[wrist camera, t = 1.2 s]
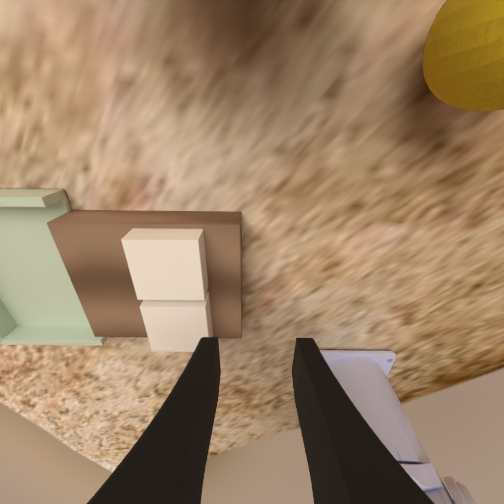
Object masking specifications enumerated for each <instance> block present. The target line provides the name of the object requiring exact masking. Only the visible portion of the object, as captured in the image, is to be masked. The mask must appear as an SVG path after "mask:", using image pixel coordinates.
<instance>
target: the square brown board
mask: <svg viewBox="0 0 504 504" xmlns="http://www.w3.org/2000/svg"><path fill="white" fill-rule="evenodd" d="M47 225H48V228H49V230H50V232H51V235H52V237H53V240H54V242H55V244H56V247H57V249H58V251H59V254H60V256H61V258H62V261H63V263H64V265H65V268H66V270H67V272H68V275H69V277H70V279H71V282H72V284H73V287H74V289H75V291H76V294H77V296H78V298H79V301H80V303H81V305H82V308H83V310H84V312H85V315H86V317H87V319H88V322H89V324H90V326H91V329H92V331H93V334H94V336H95V337H148V335H147V332H146V328H145V324H144V321H143V317H142V314H141V310H140V305H141V303H142V302H143V300H138V299H137V296H136V292H135V288H134V285H133V281H132V278H131V274H130V270H129V267H128V263H127V259H126V256H125V252H124V249H123V245H122V241H121V239H122V238H123V237H124V236H125V235H126V234H127V233H129V232H130V231H131V230H132V229H133V228H149V229H203V233H204V244H205V255H206V265H207V276H208V289H207V292H209V297H210V308H211V318H212V329H213V337H218V338H241V336H242V236H241V212H204V211H110V210H71V211H69V212H67V213H65V214H63V215H61V216H59V217H57V218H55V219H53V220H51V221H49V222H47Z"/></svg>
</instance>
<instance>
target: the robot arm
mask: <svg viewBox="0 0 504 504" xmlns="http://www.w3.org/2000/svg"><path fill="white" fill-rule="evenodd" d="M395 358H396V354H395V353H394V352H393V351H357V350H319V348H318V346H317V345H316V343H315V341H314V340H313V339H312V338H296V345H295V352H294V359H293V366H292V378H293V388H294V396H295V403H296V408H297V413H298V417H299V422H300V427H301V431H302V437H303V442H304V447H305V451H306V456H307V461H308V466H309V471H310V477H311V483H312V490H313V498H314V504H454V503H455V504H476V503H475V501H474V499H473V497H472V496H471V494H470V493H469V491H468V489H467V488H466V487H465V486H464V485H462V484H460V483H459V482H455V480H454V479H453V478H452V477H445V478H443V479H444V481H445V483H446V485H447V488H448V489H449V491H450V493H451V495H452V497H453V500H452V498H451V496H450V494H449V492H448V490H447V488H446V486H445V484H444V483H443V481H442V480H441V478H440V476H439V474H438V473H437V471H436V469H435V468H434V466H433V464H432V463H431V462H430V460H429V458H428V456H427V454H426V452H425V450H424V448H423V446H422V444H421V442H420V440H419V438H418V436H417V434H416V432H415V430H414V429H413V427H412V425H411V423H410V421H409V419H408V417H407V415H406V413H405V411H404V409H403V407H402V405H401V403H400V401H399V399H398V398H397V396H396V394H395V392H394V390H393V388H392V386H391V384H390V382H389V380H388V378H387V376H388V374H389V372H390V370H391V367H392V365H393V363H394V360H395ZM220 372H221V369H220V356H219V344H218V337H202V338H201V339H200V340H199V342H198V345H197V347H196V349H195V351H194V353H193V355H192V357H191V359H190V360H189V362H188V364H187V366H186V368H185V369H184V371H183V373H182V375H181V376H180V378H179V380H178V381H177V383H176V385H175V386H174V388H173V390H172V391H171V393H170V394H169V396H168V398H167V399H166V401H165V402H164V404H163V405H162V407H161V408H160V410H159V411H158V413H157V414H156V416H155V417H154V419H153V420H152V421H151V423H150V424H149V426H148V427H147V429H146V430H145V431H144V433H143V434H142V435H141V437H140V438H139V439H138V441H137V442H136V443H135V445H134V446H133V447H132V449H131V450H130V451H129V453H128V454H127V455H126V457H125V458H124V459H123V460H122V462H121V463H120V464H119V465H118V467H117V468H116V469H115V470H114V472H113V473H112V474H111V475H110V477H109V478H108V479H107V480H106V482H105V483H104V484H103V485H102V487H101V488H100V489H99V490H98V491H97V492H96V494H95V495H94V496H93V497H92V498H91V500H90V501H89V502H88V503H87V504H200V503H201V494H202V486H203V479H204V472H205V466H206V461H207V455H208V450H209V445H210V439H211V434H212V429H213V423H214V418H215V413H216V407H217V402H218V394H219V384H220ZM453 501H454V502H453Z"/></svg>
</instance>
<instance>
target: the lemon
mask: <svg viewBox="0 0 504 504" xmlns="http://www.w3.org/2000/svg"><path fill="white" fill-rule="evenodd" d="M422 65H423V73H424V78H425V80H426V83H427V85H428V87H429V89H430V91H431V92H432V93H433V94H434V95H435V96H436V97H437V98H438V99H439V100H440V101H442V102H444V103H446V104H448V105H450V106H452V107H454V108H458V109H464V110H472V111H494V110H501V109H504V0H446V2H445V3H444V4H443V6H442V7H441V9H440V10H439V12H438V14H437V16H436V18H435V20H434V22H433V24H432V26H431V28H430V30H429V33H428V37H427V40H426V43H425V47H424V52H423V62H422Z"/></svg>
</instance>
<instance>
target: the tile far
mask: <svg viewBox="0 0 504 504" xmlns="http://www.w3.org/2000/svg"><path fill="white" fill-rule="evenodd" d="M140 310H141V314H142V317H143V321H144V324H145V328H146V332H147V335H148V339H149V343H150V346H151V350H152V351H174V352H194V351H195V349H196V347H197V345H198V342H199V340H200V339H201V338H202V337H213V329H212V318H211V308H210V297H209V292H207V293H206V297H205V300H143V302H142V303H141V305H140Z"/></svg>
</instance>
